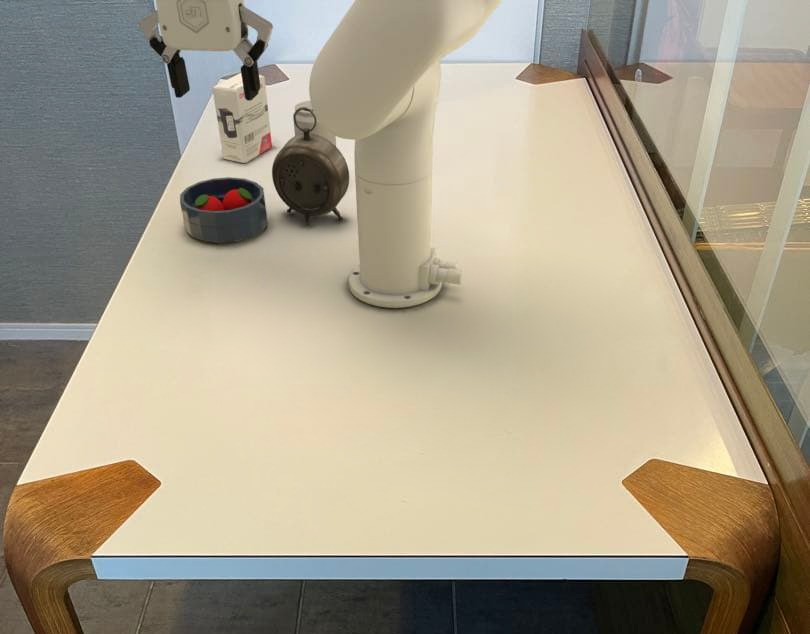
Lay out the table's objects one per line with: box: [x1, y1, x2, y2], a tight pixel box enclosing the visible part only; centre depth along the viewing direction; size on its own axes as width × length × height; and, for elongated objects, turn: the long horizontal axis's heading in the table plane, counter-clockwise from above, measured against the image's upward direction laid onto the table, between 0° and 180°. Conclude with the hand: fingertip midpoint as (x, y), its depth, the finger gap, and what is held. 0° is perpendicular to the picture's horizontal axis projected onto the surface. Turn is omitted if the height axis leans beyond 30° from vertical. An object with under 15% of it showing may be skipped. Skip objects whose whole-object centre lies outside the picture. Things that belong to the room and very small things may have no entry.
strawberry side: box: [195, 194, 225, 211], centre depth 127 cm, size 4×4×4 cm
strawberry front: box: [223, 188, 252, 210], centre depth 128 cm, size 4×4×4 cm
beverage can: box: [292, 100, 337, 147], centre depth 136 cm, size 6×6×12 cm
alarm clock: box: [271, 107, 350, 227], centre depth 125 cm, size 11×5×16 cm, turn 73°
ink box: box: [212, 72, 273, 164], centre depth 146 cm, size 8×5×12 cm, turn 152°
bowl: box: [179, 176, 269, 243], centre depth 128 cm, size 12×12×5 cm
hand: (217, 95), depth 111 cm, fingers open, 9 cm apart
